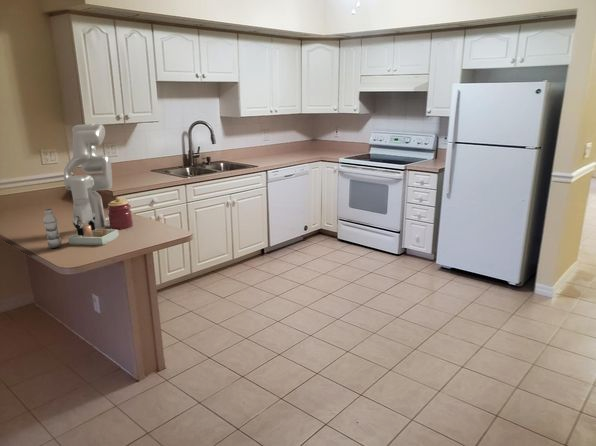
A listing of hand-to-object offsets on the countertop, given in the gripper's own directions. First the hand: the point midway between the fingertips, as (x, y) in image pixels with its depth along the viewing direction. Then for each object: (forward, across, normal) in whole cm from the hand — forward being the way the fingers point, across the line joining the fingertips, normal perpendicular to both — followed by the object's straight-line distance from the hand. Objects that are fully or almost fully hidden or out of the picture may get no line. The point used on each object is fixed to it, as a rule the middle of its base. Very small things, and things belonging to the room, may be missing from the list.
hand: (86, 232), depth 247 cm
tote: (+4, 0, +4) cm, 6 cm away
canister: (+4, -26, +4) cm, 27 cm away
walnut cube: (+4, 0, +8) cm, 9 cm away
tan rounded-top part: (+4, 0, 0) cm, 4 cm away
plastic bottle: (+4, +13, -10) cm, 17 cm away
